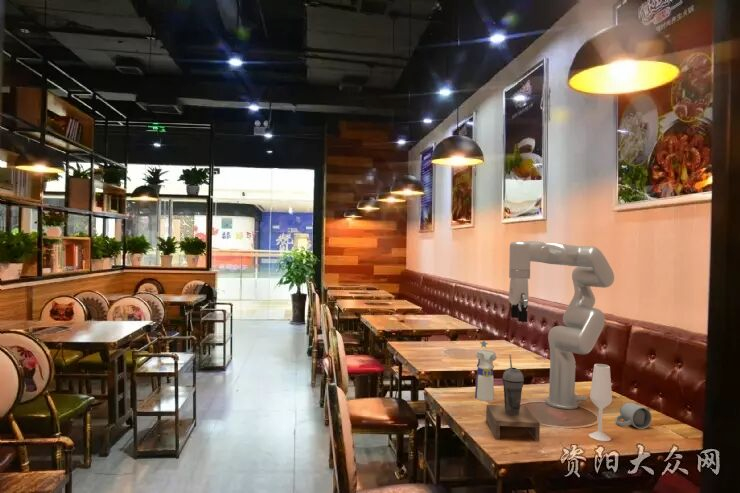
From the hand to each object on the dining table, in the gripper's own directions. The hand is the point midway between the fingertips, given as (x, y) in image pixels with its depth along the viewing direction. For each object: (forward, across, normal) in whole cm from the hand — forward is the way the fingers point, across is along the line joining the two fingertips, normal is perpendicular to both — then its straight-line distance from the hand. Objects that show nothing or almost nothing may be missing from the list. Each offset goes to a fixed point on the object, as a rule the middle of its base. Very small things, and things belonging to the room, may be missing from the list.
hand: (518, 319), depth 180 cm
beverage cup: (+30, +16, -6) cm, 35 cm away
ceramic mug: (+37, +7, +39) cm, 54 cm away
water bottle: (+36, -18, -8) cm, 41 cm away
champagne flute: (+36, +19, +22) cm, 47 cm away
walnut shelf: (+36, +17, -7) cm, 40 cm away
